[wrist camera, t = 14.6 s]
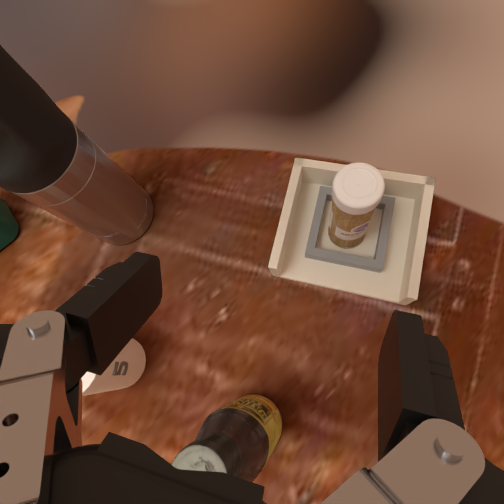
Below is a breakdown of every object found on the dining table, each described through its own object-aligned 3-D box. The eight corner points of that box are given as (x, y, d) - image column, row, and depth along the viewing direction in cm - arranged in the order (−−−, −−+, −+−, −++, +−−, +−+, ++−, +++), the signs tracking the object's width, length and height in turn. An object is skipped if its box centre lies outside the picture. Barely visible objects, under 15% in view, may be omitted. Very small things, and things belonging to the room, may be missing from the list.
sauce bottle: (282, 392, 42) (255, 424, 23) (284, 452, 40) (258, 540, 21) (227, 392, 43) (157, 424, 24) (227, 451, 41) (153, 534, 22)
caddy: (272, 276, 46) (267, 267, 41) (297, 176, 49) (295, 157, 44) (405, 305, 42) (417, 299, 37) (422, 196, 45) (435, 177, 40)
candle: (141, 393, 45) (59, 412, 30) (94, 383, 46) (-6, 397, 32) (152, 341, 46) (79, 335, 32) (106, 333, 47) (16, 325, 33)
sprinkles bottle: (345, 256, 44) (358, 217, 31) (319, 231, 45) (321, 183, 33) (373, 232, 44) (397, 183, 31) (346, 207, 46) (359, 151, 33)
